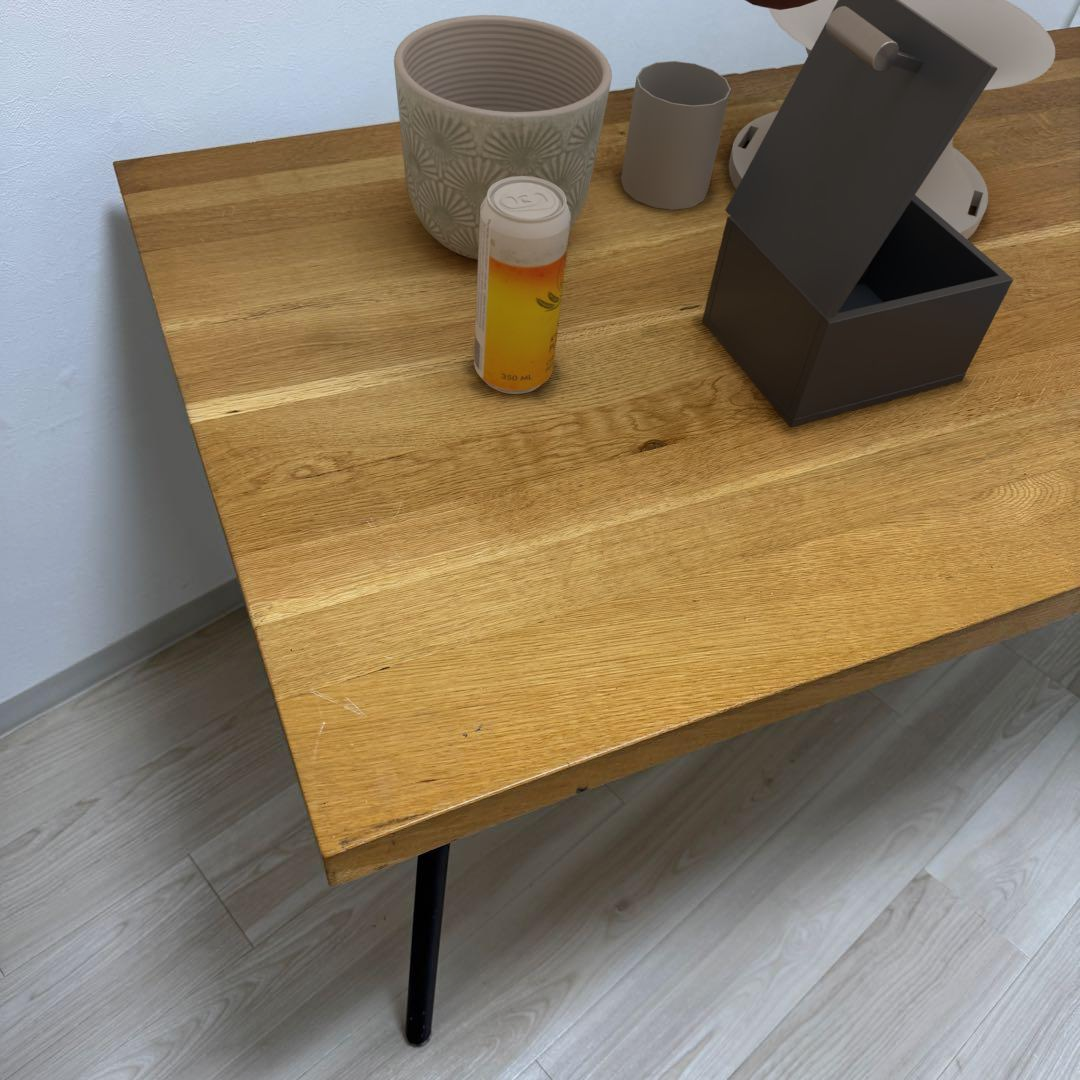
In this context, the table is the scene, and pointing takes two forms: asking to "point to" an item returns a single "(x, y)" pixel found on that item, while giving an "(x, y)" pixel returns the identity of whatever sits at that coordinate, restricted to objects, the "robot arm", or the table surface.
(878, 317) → the open box
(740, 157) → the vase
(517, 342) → the beer can
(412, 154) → the planter
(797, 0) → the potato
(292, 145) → the table surface
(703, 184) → the cup
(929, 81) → the box lid
